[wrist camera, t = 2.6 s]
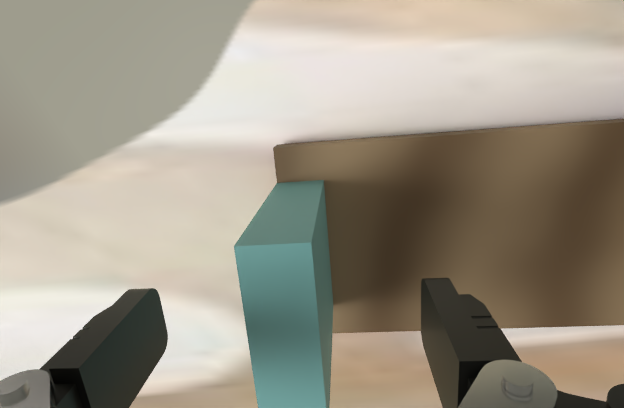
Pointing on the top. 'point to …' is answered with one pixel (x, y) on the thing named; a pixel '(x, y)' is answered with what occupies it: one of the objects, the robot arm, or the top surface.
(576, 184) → the multicoloured piece
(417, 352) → the top surface
